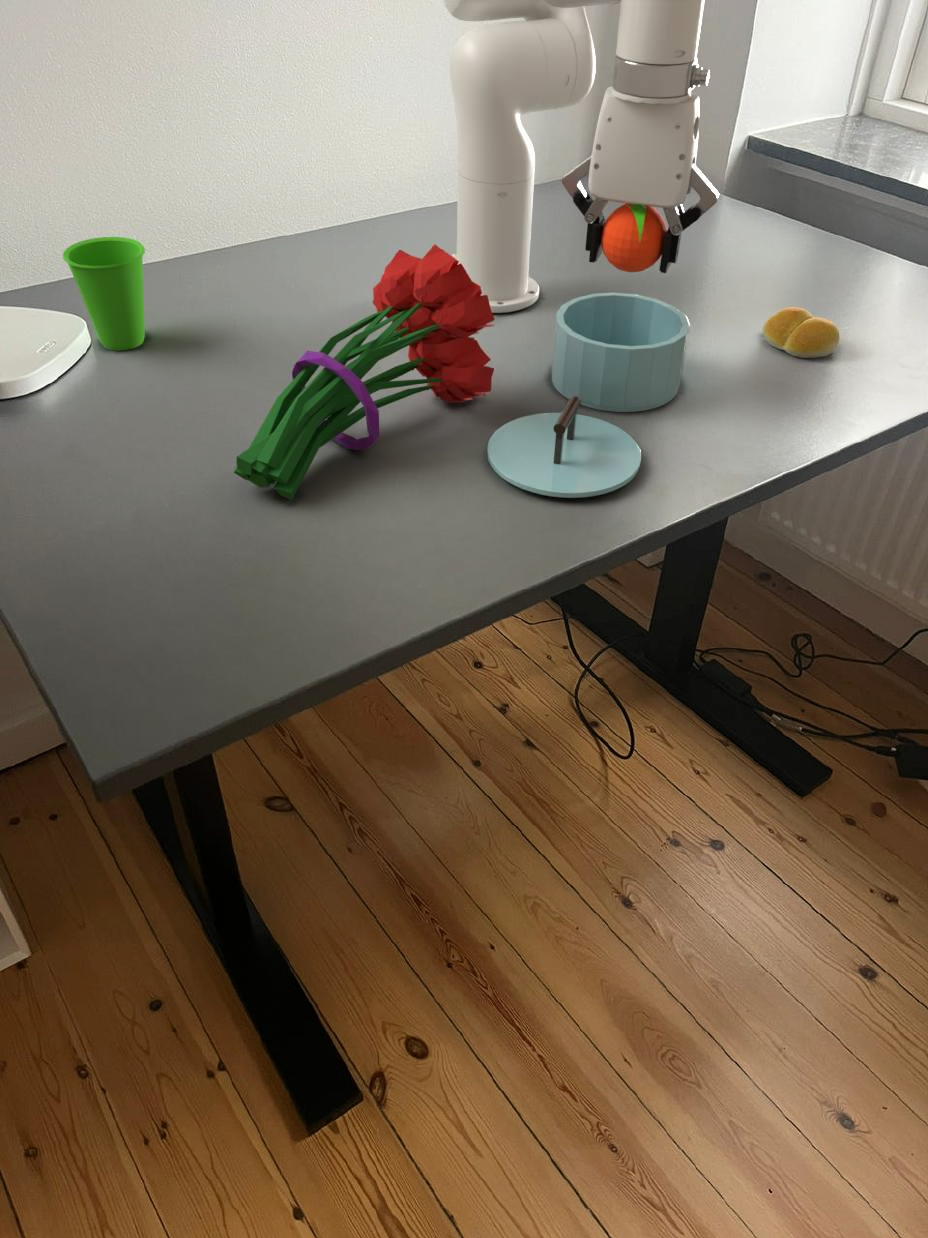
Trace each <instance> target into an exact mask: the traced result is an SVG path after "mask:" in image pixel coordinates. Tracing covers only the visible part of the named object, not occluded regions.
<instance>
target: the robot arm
mask: <svg viewBox="0 0 928 1238" xmlns="http://www.w3.org/2000/svg"><path fill="white" fill-rule="evenodd" d="M442 2H443V4H444V6H445V9H446V10H447V12H448V13H449V14H450V15H451V16H452V17H453V18H455V19H456V20H459V21H463V22H486V21H488V22H489V21H499V20H510V19H521V18H522V19H524V20H522V19H521V20H513V21H512V20H511V21H501V22H493V23H486V24H483V25H480V26H479V25H478V26H476V27H473V28H472V29H469V30H468V31H466V32H465V33H464V34H462V35H461V36H460V37H459V39H458V40H457V41H456V43H455V44H454V45H453V48H452V51H451V54H450V60H449V76H450V85H451V90H452V95H453V102H454V110H455V119H456V121H455V122H456V133H457V134H456V135H457V136H456V137H457V138H456V139H457V169H456V170H457V171H456V172H457V194H456V195H457V196H456V197H457V201H456V203H457V205H456V208H457V209H456V213H457V214H456V253H452V254H451V256H452V257H454V258H455V259H456V260H458V261H459V263H458V264H462V266H463V267H464V269H465V270H466V272H467V274H468V275H469V277H470V279H471V281H472V282H474V283H476V284H478V285H479V286H481V291H482V294H481V295H480V296H482V295H487V296H488V300H489V304H490V307H491V311H492V314H503V313H511V312H517V311H521V310H524V309H526V308H528V307H530V306H532V305H534V304H535V303H536V302H537V301H538V299H539V297H540V286H539V284H538V283H537V281H536V280H535V279H533V278H532V277H530V276H529V273H530V272H529V271H530V256H531V241H532V239H531V238H532V221H533V206H534V204H533V203H534V189H535V171H536V170H535V169H536V154H535V150H534V146H533V143H532V141H531V139H530V137H529V135H528V134H527V132H526V130H525V128H524V126H523V124H522V121H521V116H522V115H526V114H530V113H531V114H532V113H537V112H544V111H550V110H558V109H563V108H568V107H572V106H575V105H577V104H579V103H580V102H582V101H583V100H584V99H586V97H588V95H589V93H590V92H591V90H592V87H593V85H594V82H595V77H596V68H597V67H596V51H595V46H594V41H593V40H594V39H593V36H592V32H591V27H590V23H589V20H588V15H587V11H586V7H594V6H604V5H620V7H619V17H618V18H619V19H618V27H617V37H616V48H615V55H614V67H613V76H612V77H613V78H612V85H611V86H609V87H607V88H606V90H605V92H604V96H603V99H602V103H601V107H600V110H599V115H598V119H597V123H596V128H595V134H594V139H593V145H592V151H591V154H590V156H587V158H585V159H584V160H582V162H580V163H579V164H577V165H576V166H575V167H573V168H572V169H570V170H569V171H568V172H566V173H565V174H564V175H563V176H562V178H561V184H562V185H563V187H564V188H565V190H566V191H567V193H568V195H569V196H570V197H571V198H572V202H573V204H574V205H575V206H576V207H577V209H578V210H579V212H580V213H581V214H582V216H583V217H584V218H583V219H584V221H585V222H586V223H587V227H586V237H585V246H584V247H585V249H584V251H586V252H589V256H588V257H589V258H588V262H589V263H593V264H594V263H596V262H597V261H599V259H600V257H601V255H602V254H603V249H602V246H601V234H602V229H603V225H604V223H605V222H606V220H607V218H605V215H604V209H605V207H606V206H607V204H608V202H614V203H621V204H622V203H623V204H626V203H629V204H636V205H644V206H652V207H653V208H662V210H663V213H664V215H665V220H666V222H667V225H668V228H667V232H666V234H665V236H664V242H663V249H662V255H661V257H660V263H659V272H660V273H661V274H667V272H668V271H669V269H670V267H671V266H672V265H671V264H676V263H677V261H678V258H679V253H680V245H681V241H682V240H681V239H682V232H683V231H685V230H686V229H687V228H689V227H690V226H692V225H693V224H695V222H697V221H698V220H699V219H700V218H701V217H702V216H703V215H704V214H705V213H707V212H708V211H709V210H710V209H711V208H712V207H714V205H716V204H717V202H718V201H719V199H720V193H719V191H718V190H717V189H716V188H715V186H714V185H713V184H712V183H711V182H710V180H709V179H708V178H707V177H706V176H705V175H704V173H702V171H701V170H700V169H699V168H698V167H697V165H696V162H697V154H698V145H699V144H698V143H699V134H700V133H699V130H700V96H699V95H698V93H695V92H692V90H694V89H695V87H700V86H708V84H709V79H710V73H711V72H710V71H711V70H710V69H705V68H703V67H701V66H700V65H699V63H698V58H697V56H698V55H697V54H698V48H699V41H700V34H701V27H702V21H703V14H704V7H705V0H442ZM587 175H588V181H587V182H588V183H587V184H588V190H586V189H584V187H583V185H582V182H581V180H582V179H584V178H585V177H586V176H587ZM692 189H693V190H694V191H695V192H696V194H697V195H698V196H699V199H698V201H697V202H695V204H693V205H691V206H690V207H689V208H687V209H686V210H684V209H685V208H684V207H683V204H684V202H685V200H686V197H687V195H689V194H690V193H691V191H692ZM588 191H589V192H588ZM590 194H591V195H592V196H593V197H594V199H593V197H592V196H591V195H590Z"/></svg>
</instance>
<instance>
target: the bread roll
mask: <svg viewBox="0 0 928 1238" xmlns="http://www.w3.org/2000/svg"><path fill="white" fill-rule="evenodd" d="M762 335H763V337H764V339H765V340H766V342H767V343H768V344H769V345H770V346H772V347H773V348H776V349H778V350H781V351H785V352H786V354H789V355H791V356H792V357H796V358H801V359H807V358H808V359H815V358H823V357H827V356H829V355H831V354H833V353H834V352H835V351H836V350H837V347H838V344H839V342H840V331H839V329H838V327H837V326H836V325H835V323H834V322H833V321H831V320H829V319H827V318H823V317H815V316H814V315H813V314H812V313H811V312H809V311H808V310H807V309H804V308H802V307H799V306H789V307H784V308H782V309H780V310H779V311H777V312H776V313H774V314H773V315H771V316H769V317H768V318H766V320H765V321H764V322H763V325H762Z"/></svg>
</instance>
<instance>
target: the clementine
mask: <svg viewBox="0 0 928 1238" xmlns="http://www.w3.org/2000/svg"><path fill="white" fill-rule="evenodd" d="M667 230H668V228H667V224H666V221H665V219H664V217H663V216H662V214H661V213H660V211H658V210H657V209H656V207H652V206H644V205H636V204H629V203H623V204H622V205H620V206H619V207H616V208H615V209H614V210H613V211H612V212H611V213H610V214H609V216H607V217H606V221H605V223H604V225H603V229H602V234H601V246H602V249H603V250H602V254H603V255H604V257H605V258H606V259H607V261H608V262H609V264H610V265H612V266H613V267H615V268H616V269H617V270H619V271H622V272H625V273H638V272H639V273H641V272H642V271H645V270H647V269H649V268H651V267H652V266H654V265H655V264H656V263H657V262H658V261H659V260H660V259H661V256H662V249H663V242H664V236H665V234H666V232H667Z"/></svg>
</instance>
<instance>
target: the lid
mask: <svg viewBox="0 0 928 1238" xmlns="http://www.w3.org/2000/svg"><path fill="white" fill-rule="evenodd" d="M580 404H581V401H580V399H579V398H578V397H576V396H573V397H571V398H570V399H568V401H567V403H566V405H565V406H564V408H563V410H562V411H561V412H543V413H535V414H529V415H525V416H521V417H518V418H516V419H513V420H510V421H509V422H507V423H504V424H503V425H502V426H500V427H499V428H498V429H496V430H495V431H494V432H493V434H491V436H490V438H489V440H488V443H487V445H486V447H487V448H486V449H487V450H486V457H487V461H488V463H489V464H490V467H491V468H492V469H493V471H494V472H495V473H496V474H497V475H498V476H499V477H500V478H502V479H503V480H504V481H506V482H507V483H509V484H511V485H513V486H515V487H517V488H519V489H521V490H523V491H528V492H530V493H534V494H536V495H541V496H547V497H552V498H553V497H554V498H566V499H567V498H568V499H578V498H589V497H597V496H600V495H601V496H602V495H605V494H609V493H611V492H614V491H616V490H619V489H620V488H622V487H624V486H626V485H628V484H629V483H630V482H631V481H633V479H634V478H635V477H636V476H637V474H638V472H639V471H640V468H641V465H642V452H641V448H640V447H639V445H638V443H637V442H636V441H635V439H634V438H633V437H632V436H631V435H630V434H629V433H628V432H627V431H625V430H623V429H622V428H620V427H619V426H617V425H614V424H612V423H610V422H609V421H605V420H603V419H600V418H596V417H593V416H589V415H584V414H578V409H579V408H580V406H581V405H580Z"/></svg>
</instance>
